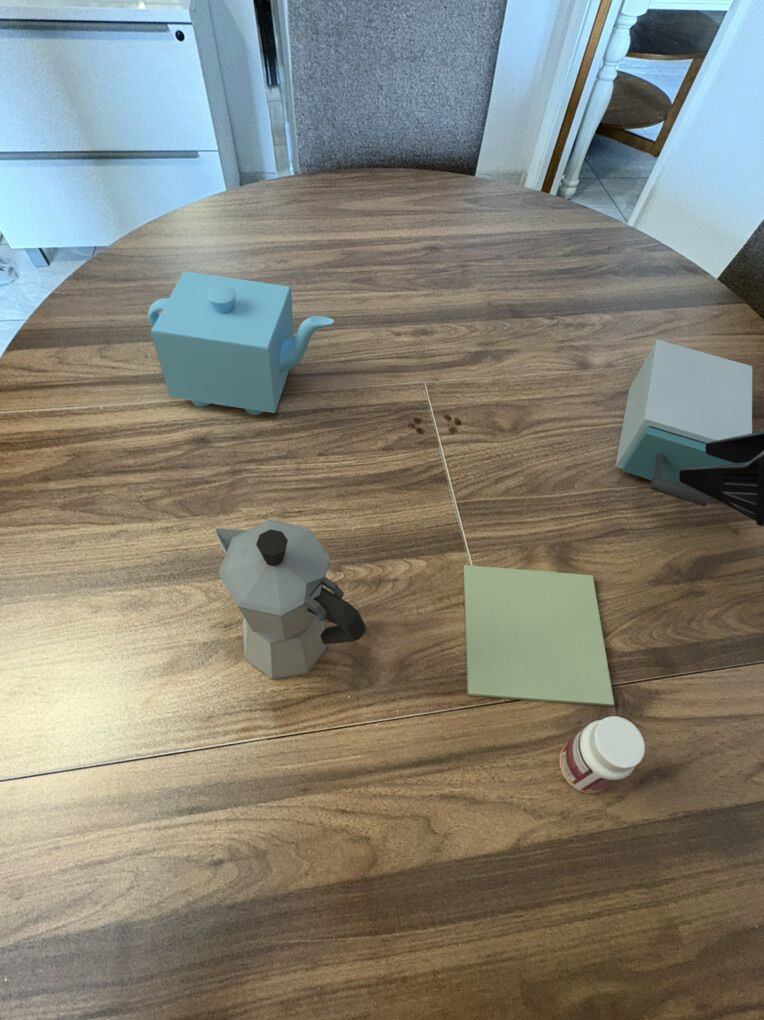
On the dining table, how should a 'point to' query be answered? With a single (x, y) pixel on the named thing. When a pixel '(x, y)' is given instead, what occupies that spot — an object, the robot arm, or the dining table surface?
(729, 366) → the pale grey hollow box
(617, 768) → the pill bottle
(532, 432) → the dining table surface
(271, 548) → the coffee maker
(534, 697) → the mat
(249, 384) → the teapot
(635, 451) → the drawer
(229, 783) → the dining table surface
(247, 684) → the dining table surface
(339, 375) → the dining table surface
